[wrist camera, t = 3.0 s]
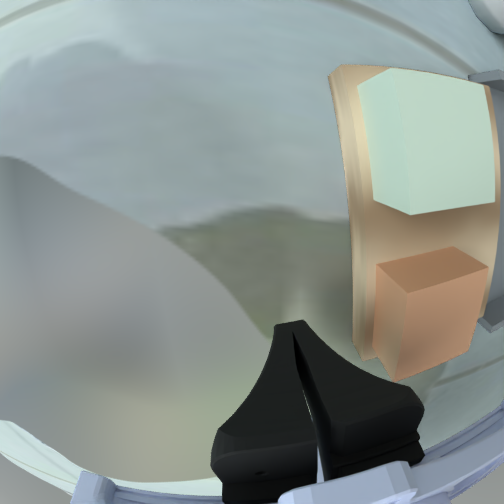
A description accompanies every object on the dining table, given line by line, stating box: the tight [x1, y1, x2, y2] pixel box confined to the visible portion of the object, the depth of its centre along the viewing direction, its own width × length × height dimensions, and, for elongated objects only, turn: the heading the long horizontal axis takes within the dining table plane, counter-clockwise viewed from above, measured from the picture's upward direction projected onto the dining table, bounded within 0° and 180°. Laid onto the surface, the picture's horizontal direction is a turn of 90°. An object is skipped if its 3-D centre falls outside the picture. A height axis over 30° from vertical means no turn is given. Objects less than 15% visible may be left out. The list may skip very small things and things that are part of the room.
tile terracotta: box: [372, 246, 489, 383], centre depth 11 cm, size 5×5×3 cm
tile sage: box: [357, 68, 495, 215], centre depth 9 cm, size 5×5×3 cm
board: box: [328, 65, 501, 361], centre depth 12 cm, size 15×10×2 cm, turn 10°
